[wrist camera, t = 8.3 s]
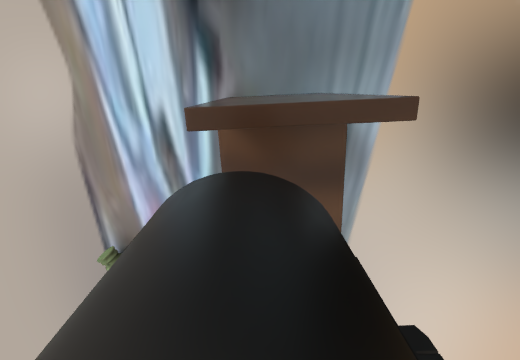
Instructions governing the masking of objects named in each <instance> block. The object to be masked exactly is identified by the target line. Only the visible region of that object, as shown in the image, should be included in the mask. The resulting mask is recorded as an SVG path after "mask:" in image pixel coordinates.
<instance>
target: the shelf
mask: <svg viewBox="0 0 520 360" xmlns="http://www.w3.org/2000/svg"><path fill="white" fill-rule="evenodd" d="M418 105H419V96H393V95H363V94H333V93H311V94H291V95H271V96H250V97H230V98H224V99H220V100H216V101H212V102H208V103H203V104H199V105H195V106H191V107H186V108H184V111H185V119H186V126H187V131H207V130H218V136H219V146H220V157H221V167H222V173H223V172H232V171H251V172H260V173H266V174H270V175H273V176H277V177H280V178H283V179H285V180H287V181H290V182H292V183H294V184H296V185H298V186H299V187H301V188H303V189H304V190H306V191H307V192H308V193H310V194H311V195H312V196H313V197H315V198H316V199H317V200H318V201H319V202H320V203H321V204H322V205H323V206H324V208H325V209H326V210H327V212H328V213H329V214H330V216H331V217H332V219H333V221H334V222H335V224H336V226H337V227H338V229H339V231H340V232H341V226H342V208H343V191H344V174H345V156H346V139H347V124H350V123H371V122H389V121H412V120H416V119H417V112H418Z"/></svg>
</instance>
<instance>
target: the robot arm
mask: <svg viewBox="0 0 520 360" xmlns="http://www.w3.org/2000/svg"><path fill="white" fill-rule="evenodd" d="M356 259H357V261H358V262H359V260H358V258H357V257H356ZM359 264H360V262H359ZM360 266H361V267H362V265H361V264H360ZM362 269H363V271H364V272H365V270H364V268H363V267H362ZM365 274H366V276H367V277H368V275H367V273H366V272H365ZM368 279H369V281H370V282H371V280H370V278H369V277H368ZM371 284H372V286H373V287H374V285H373V283H372V282H371ZM374 289H375V287H374ZM375 291H376V293H377V294H378V292H377V290H376V289H375ZM378 296H379V298H380V299H381V301H382V303H383V304H384V302H383V300H382V298H381V297H380V295H379V294H378ZM384 306H385V308H386V309H387V311H388V313H389V314H390V316H391V318H392V319H393V321H394V323H395V324H396V326H397V328H398V329H399V331H400V333H401V334H402V336H403V338H404V339H405V341H406V343H407V344H408V346H409V348H410V349H411V351H412V353H413V354H414V356H415V358H416V359H417V360H444V359H443V358H442V356H441V355H440V354H438V351H437V349H436V348H435V347H434V345H433V344H432V342H431V341H430V339H429V338H428V337H427V336H426V335H425V334H424V333H423V332H421V331H420V330H419V329H418V328H417V327H416V326H415V325H406V326H398V325H397V323H396V322H395V320H394V318H393V317H392V315H391V313H390V312H389V310H388V308H387V307H386V305H385V304H384Z"/></svg>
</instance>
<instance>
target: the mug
mask: <svg viewBox="0 0 520 360" xmlns="http://www.w3.org/2000/svg"><path fill="white" fill-rule="evenodd" d="M35 360H417V359H416V358H415V356H414V354H413V353H412V351H411V349H410V348H409V346H408V344H407V343H406V341H405V339H404V338H403V336H402V334H401V333H400V331H399V329H398V328H397V326H396V324H395V323H394V321H393V319H392V318H391V316H390V314H389V313H388V311H387V309H386V308H385V306H384V304H383V303H382V301H381V299H380V298H379V296H378V294H377V293H376V291H375V289H374V287H373V286H372V284H371V282H370V281H369V279H368V277H367V276H366V274H365V272H364V271H363V269H362V267H361V266H360V264H359V262H358V261H357V259H356V257H355V256H354V254H353V253H352V251H351V249H350V247H349V246H348V244H347V242H346V241H345V239H344V237H343V236H342V234H341V232H340V231H339V229H338V227H337V226H336V224H335V222H334V221H333V219H332V217H331V216H330V214H329V213H328V212H327V210H326V209H325V208H324V206H323V205H322V204H321V203H320V202H319V201H318V200H317V199H316V198H315V197H313V196H312V195H311V194H310V193H308V192H307V191H306V190H304V189H303V188H301V187H299V186H298V185H296V184H294V183H292V182H290V181H287V180H285V179H283V178H280V177H277V176H273V175H270V174H266V173H260V172H251V171H232V172H223V173H218V174H213V175H210V176H206V177H204V178H201V179H198V180H195V181H193V182H191V183H190V184H188V185H186V186H184V187H182V188H181V189H179V190H178V191H177V192H175V193H174V194H173V195H172V196H170V197H169V198H168V199H167V200H166V201H165V202H164V203H163V204H162V205H161V207H160V208H159V209H158V210H157V211H156V213H155V214H154V215H153V216H152V217H151V219H150V220H149V221H148V222H147V224H146V225H145V226H144V227H143V228H142V230H141V231H140V232H139V233H138V235H137V236H136V237H135V238H134V239H133V241H132V242H131V243H130V244H129V246H128V247H127V248H126V249H125V250H124V252H123V253H122V254H121V255H120V257H119V258H118V259H117V260H116V261H115V263H114V264H113V265H112V266H111V268H110V269H109V270H108V271H107V273H106V274H105V275H104V276H103V277H102V279H101V280H100V281H99V282H98V283H97V285H96V286H95V287H94V288H93V290H92V291H91V292H90V293H89V294H88V296H87V297H86V298H85V299H84V301H83V302H82V303H81V304H80V305H79V307H78V308H77V309H76V310H75V312H74V313H73V314H72V315H71V316H70V318H69V319H68V320H67V321H66V323H65V324H64V325H63V326H62V327H61V329H60V330H59V331H58V333H57V334H56V335H55V336H54V337H53V338H52V340H51V341H50V342H49V343H48V345H47V346H46V347H45V348H44V350H43V351H42V352H41V353H40V354H39V356H38V357H37V358H36V359H35Z"/></svg>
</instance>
